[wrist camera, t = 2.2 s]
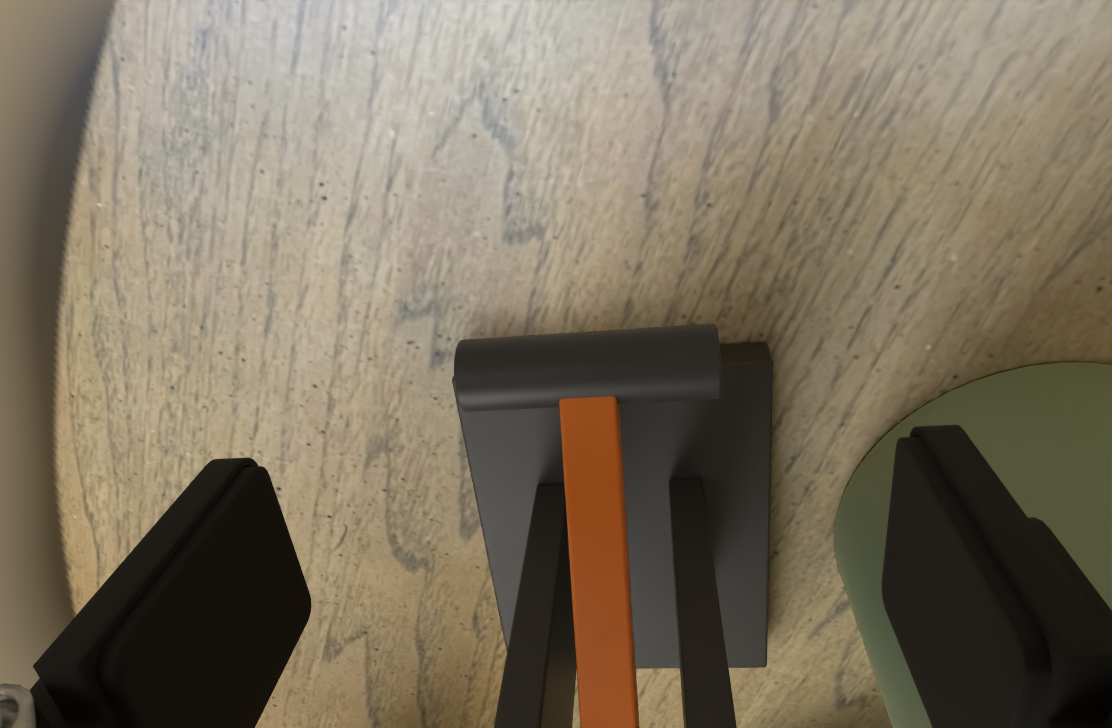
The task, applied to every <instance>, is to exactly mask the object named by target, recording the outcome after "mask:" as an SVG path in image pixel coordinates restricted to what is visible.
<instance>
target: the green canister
mask: <svg viewBox="0 0 1112 728" xmlns="http://www.w3.org/2000/svg"><path fill="white" fill-rule="evenodd" d="M935 425H960V426H961V427H962V428H963V429H964V431H965V432H966V434H967V435H968V436H969V438H970V439H971V440H972V442H973V443H974V445H975V446H976V447H977V449H978V450H979V451H980V453H981V454H982V456H983V457H984V458H985V460H986V461H987V462H988V464H989V465H990V466H991V468H992V469H993V471H994V472H995V473H996V475H997V476H998V477H999V479H1000V480H1001V482H1002V483H1003V484H1004V486H1005V487H1006V488H1007V490H1008V491H1009V493H1010V494H1011V495H1012V497H1013V498H1014V499H1015V501H1016V502H1017V503H1018V505H1019V506H1020V508H1021V509H1022V510H1023V512H1024V513H1025V514H1026V516H1027V517H1028V518H1029V517H1035V518H1037V519H1040V520H1042V521H1043V522H1044V523H1045V524H1046V525H1047V526H1048V527H1049V528H1050V529H1051V531H1052V532H1053V533H1054V535H1055V536H1056V537H1057V539H1058V540H1059V541H1060V543H1061V544H1062V545H1063V547H1064V548H1065V549H1066V551H1067V552H1068V553H1069V554H1070V556H1071V557H1072V558H1073V560H1074V561H1075V562H1076V564H1077V565H1078V566H1079V568H1080V569H1081V570H1082V572H1083V573H1084V574H1085V576H1086V577H1087V578H1088V580H1089V581H1090V582H1091V584H1092V585H1093V586H1094V588H1095V589H1096V590H1097V592H1098V593H1099V594H1100V596H1101V597H1102V598H1103V600H1104V601H1105V602H1106V603H1107V605H1108V606H1109V607H1110V609H1111V610H1112V365H1110V364H1101V363H1092V362H1060V363H1050V364H1041V365H1032V366H1027V367H1023V368H1018V369H1013V370H1008V371H1004V372H1000V373H997V374H994V375H991V376H988V377H985V378H981V379H978V380H975V381H973V382H970V383H968V384H966V385H963V386H961V387H959V388H956V389H954V390H952V391H949V392H947V393H946V394H944V395H942V396H940V397H938V398H937V399H935V400H933V401H931V402H929V403H927V404H926V405H924V406H922V407H921V408H920V409H918V410H917V411H915V412H914V413H912V414H911V415H910V416H908V417H907V418H905V419H904V420H902V421H901V422H900V423H899V424H898V425H896V426H895V427H894V428H893V429H892V430H891V431H890V432H888V433H887V434H886V435H885V436H884V437H883V438H882V439H881V440H880V441H879V442H878V443H877V444H876V445H875V447H874V448H873V449H872V450H871V451H870V452H869V453H868V454H867V455H866V457H865V458H864V460H863V461H862V462H861V464H860V465H859V467H858V468H857V470H856V471H855V473H854V474H853V476H852V478H851V480H850V482H849V484H848V486H847V488H846V490H845V492H844V494H843V497H842V500H841V503H840V506H839V509H838V512H837V517H836V523H835V529H834V551H835V556H836V561H837V566H838V569H839V572H840V575H841V578H842V581H843V584H844V587H845V590H846V593H847V596H848V599H849V602H850V604H851V607H852V610H853V613H854V616H855V619H856V622H857V625H858V628H859V631H860V634H861V637H862V640H863V643H864V646H865V649H866V652H867V654H868V657H869V660H870V663H871V666H872V669H873V672H874V675H875V678H876V681H877V684H878V687H879V690H880V693H881V696H882V699H883V702H884V705H885V707H886V710H887V713H888V716H889V719H890V722H891V725H892V728H932V725H931V723H930V720H929V718H928V715H927V713H926V710H925V708H924V705H923V703H922V700H921V698H920V695H919V693H918V690H917V688H916V685H915V683H914V680H913V678H912V675H911V673H910V670H909V668H908V665H907V663H906V660H905V658H904V655H903V653H902V650H901V648H900V645H899V643H898V640H897V638H896V635H895V633H894V630H893V628H892V625H891V623H890V620H889V618H888V615H887V613H886V610H885V607H884V603H883V598H882V588H881V585H882V573H883V564H884V554H885V545H886V536H887V526H888V517H889V507H890V498H891V488H892V479H893V469H894V460H895V450H896V444H897V441H898V439H899V438H900V437H909V436H910V432H911V430H912V428H914V427H915V426H935Z"/></svg>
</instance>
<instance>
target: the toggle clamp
mask: <svg viewBox="0 0 1112 728" xmlns="http://www.w3.org/2000/svg"><path fill="white" fill-rule="evenodd" d="M720 354H721V373H722V388H721V396H720V398H718V399H705V400H686V401H667V402H648V403H629V404H619V408H620V424H621V440H622V456H623V472H624V488H625V504H626V520H627V536H628V552H629V569H630V585H631V601H632V617H633V633H634V649H635V665H636V668H680V675H681V689H682V704H683V718H684V728H737V727H736V720H735V713H734V705H733V698H732V691H731V684H730V676H729V669H728V668H755V667H766V665H767V631H768V585H769V539H770V493H771V447H772V401H773V359H772V356H771V354H770V351H769V348H768V345H767V343H766V342H758V343H741V344H725V345H720ZM452 382H453V387H454V392H455V397H456V402H457V407H458V412H459V417H460V422H461V427H462V432H463V437H464V442H465V447H466V452H467V457H468V461H469V466H470V471H471V476H472V481H473V486H474V491H475V496H476V501H477V506H478V511H479V516H480V521H481V526H482V531H483V536H484V541H485V546H486V551H487V555H488V560H489V565H490V570H491V575H492V580H493V585H494V590H495V595H496V600H497V605H498V610H499V615H500V620H501V625H502V630H503V635H504V640H505V645H506V649H507V656H506V662H505V667H504V673H503V679H502V684H501V690H500V695H499V701H498V707H497V712H496V718H495V724H494V728H572V721H573V707H574V694H575V681H576V669H577V665H576V650H575V635H574V619H573V604H572V589H571V574H570V559H569V543H568V528H567V513H566V498H565V483H564V468H563V452H562V437H561V422H560V407H553V408H534V409H515V410H496V411H476V412H466V411H464V410H463V409H462V408H461V406H460V404H459V401H458V398H457V394H456V388H455V379H454V376H453V379H452Z"/></svg>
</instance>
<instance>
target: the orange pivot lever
mask: <svg viewBox="0 0 1112 728" xmlns="http://www.w3.org/2000/svg"><path fill="white" fill-rule="evenodd" d="M454 379H455V388H456V394H457V398H458V401H459V404H460V406H461V408H462V409H463V410H464V411H466V412H476V411H496V410H515V409H534V408H553V407H560V422H561V437H562V452H563V468H564V483H565V498H566V513H567V528H568V543H569V559H570V574H571V589H572V604H573V619H574V635H575V650H576V665H577V680H578V695H579V710H580V726H581V728H639V713H638V697H637V681H636V665H635V649H634V633H633V617H632V601H631V585H630V569H629V552H628V536H627V520H626V504H625V488H624V472H623V456H622V440H621V424H620V408H619V404H629V403H648V402H667V401H686V400H705V399H718V398H720V396H721V388H722V373H721V354H720V343H719V336H718V330H717V327H716V325H715V324H699V325H684V326H668V327H653V328H637V329H622V330H607V331H591V332H576V333H561V334H545V335H530V336H514V337H499V338H484V339H468V340H462V341H460V342H459V343H458V345H457V348H456V353H455V360H454Z"/></svg>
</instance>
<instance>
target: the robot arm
mask: <svg viewBox="0 0 1112 728" xmlns="http://www.w3.org/2000/svg"><path fill="white" fill-rule="evenodd" d="M881 588H882V598H883V603H884V607H885V610H886V613H887V615H888V618H889V620H890V623H891V625H892V628H893V630H894V633H895V635H896V638H897V640H898V643H899V645H900V648H901V650H902V653H903V655H904V658H905V660H906V663H907V665H908V668H909V670H910V673H911V675H912V678H913V680H914V683H915V685H916V688H917V690H918V693H919V695H920V698H921V700H922V703H923V705H924V708H925V710H926V713H927V715H928V718H929V720H930V723H931V725H932V728H1112V610H1111V609H1110V607H1109V606H1108V605H1107V603H1106V602H1105V601H1104V600H1103V598H1102V597H1101V596H1100V594H1099V593H1098V592H1097V590H1096V589H1095V588H1094V586H1093V585H1092V584H1091V582H1090V581H1089V580H1088V578H1087V577H1086V576H1085V574H1084V573H1083V572H1082V570H1081V569H1080V568H1079V566H1078V565H1077V564H1076V562H1075V561H1074V560H1073V558H1072V557H1071V556H1070V554H1069V553H1068V552H1067V551H1066V549H1065V548H1064V547H1063V545H1062V544H1061V543H1060V541H1059V540H1058V539H1057V537H1056V536H1055V535H1054V533H1053V532H1052V531H1051V529H1050V528H1049V527H1048V526H1047V525H1046V524H1045V523H1044V522H1043V521H1042V520H1040V519H1037V518H1035V517H1029V518H1028V517H1027V516H1026V514H1025V513H1024V512H1023V510H1022V509H1021V508H1020V506H1019V505H1018V503H1017V502H1016V501H1015V499H1014V498H1013V497H1012V495H1011V494H1010V493H1009V491H1008V490H1007V488H1006V487H1005V486H1004V484H1003V483H1002V482H1001V480H1000V479H999V477H998V476H997V475H996V473H995V472H994V471H993V469H992V468H991V466H990V465H989V464H988V462H987V461H986V460H985V458H984V457H983V456H982V454H981V453H980V451H979V450H978V449H977V447H976V446H975V445H974V443H973V442H972V440H971V439H970V438H969V436H968V435H967V434H966V432H965V431H964V429H963V428H962V427H961V426H960V425H935V426H915V427H914V428H912V430H911V432H910V436H909V437H900V438H899V439H898V441H897V444H896V450H895V460H894V469H893V479H892V488H891V498H890V507H889V517H888V526H887V536H886V545H885V554H884V564H883V573H882V585H881ZM310 612H311V597H310V593H309V590H308V587H307V584H306V581H305V579H304V576H303V573H302V570H301V567H300V564H299V561H298V558H297V555H296V552H295V549H294V546H293V543H292V540H291V537H290V535H289V532H288V529H287V526H286V523H285V520H284V517H283V514H282V511H281V508H280V505H279V502H278V499H277V496H276V493H275V490H274V488H273V485H272V482H271V479H270V476H269V474H268V471H267V470H266V469H265V468H264V467H261V466H258V465H257V463H256V462H255V461H254V460H253V459H251V458H231V459H215V460H212V461H210V462H209V463H208V464H207V465H206V466H205V467H204V468H203V469H202V471H201V472H200V473H199V474H198V475H197V476H196V478H195V479H194V480H193V481H192V482H191V483H190V485H189V486H188V487H187V488H186V489H185V490H184V491H183V493H182V494H181V495H180V496H179V497H178V498H177V500H176V501H175V502H174V503H173V504H172V505H171V507H170V508H169V509H168V510H167V511H166V512H165V514H164V515H163V516H162V517H161V518H160V519H159V520H158V522H157V523H156V524H155V525H154V526H153V527H152V529H151V530H150V531H149V532H148V533H147V534H146V536H145V537H144V538H143V539H142V540H141V541H140V542H139V544H138V545H137V546H136V547H135V548H134V549H133V551H132V552H131V553H130V554H129V555H128V556H127V558H126V559H125V560H124V561H123V562H122V563H121V564H120V566H119V567H118V568H117V569H116V570H115V571H114V573H113V574H112V575H111V576H110V577H109V578H108V580H107V581H106V582H105V583H104V584H103V585H102V587H101V588H100V589H99V590H98V591H97V592H96V593H95V595H94V596H93V597H92V598H91V599H90V600H89V602H88V603H87V604H86V605H85V606H84V607H83V609H82V610H81V611H80V612H79V613H78V614H77V615H76V617H75V618H74V619H73V620H72V621H71V622H70V624H69V625H68V626H67V627H66V628H65V629H64V631H63V632H62V633H61V634H60V635H59V636H58V638H57V639H56V640H55V641H54V642H53V643H52V644H51V646H50V647H49V648H48V649H47V650H46V651H45V653H44V654H43V655H42V656H41V657H40V659H39V660H38V661H37V662H36V663H35V664H34V665H33V667H34V669H35V670H36V672H37V674H38V676H39V677H40V679H39V680H38V681H37V682H36V684H35V685H34V686H33V687H32V688H31V689H30V691H29V690H28V689H26V688H24V687H22V686H21V685H16V684H0V728H255V726H256V724H257V722H258V720H259V718H260V716H261V714H262V712H263V710H264V708H265V706H266V704H267V702H268V700H269V698H270V696H271V694H272V692H273V690H274V688H275V686H276V684H277V682H278V680H279V678H280V676H281V674H282V672H283V670H284V668H285V666H286V664H287V662H288V660H289V658H290V656H291V654H292V652H293V650H294V648H295V646H296V644H297V642H298V640H299V638H300V636H301V634H302V632H303V630H304V628H305V626H306V624H307V622H308V619H309V617H310Z"/></svg>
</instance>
